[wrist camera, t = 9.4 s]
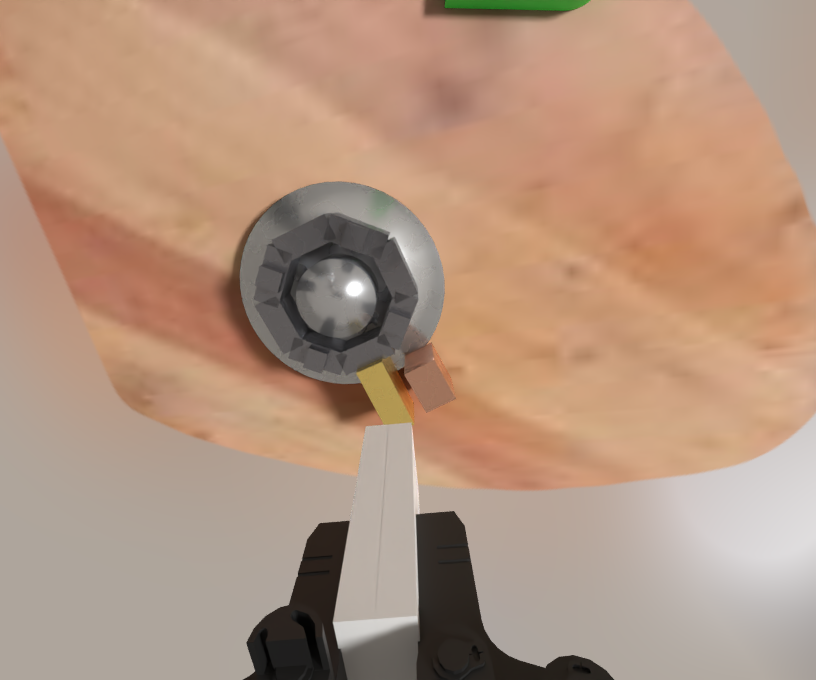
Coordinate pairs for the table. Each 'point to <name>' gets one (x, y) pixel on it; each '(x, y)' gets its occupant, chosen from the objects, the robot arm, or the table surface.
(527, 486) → the table surface
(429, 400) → the housing
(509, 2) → the mechanical part
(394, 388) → the grey ring yellow handle
